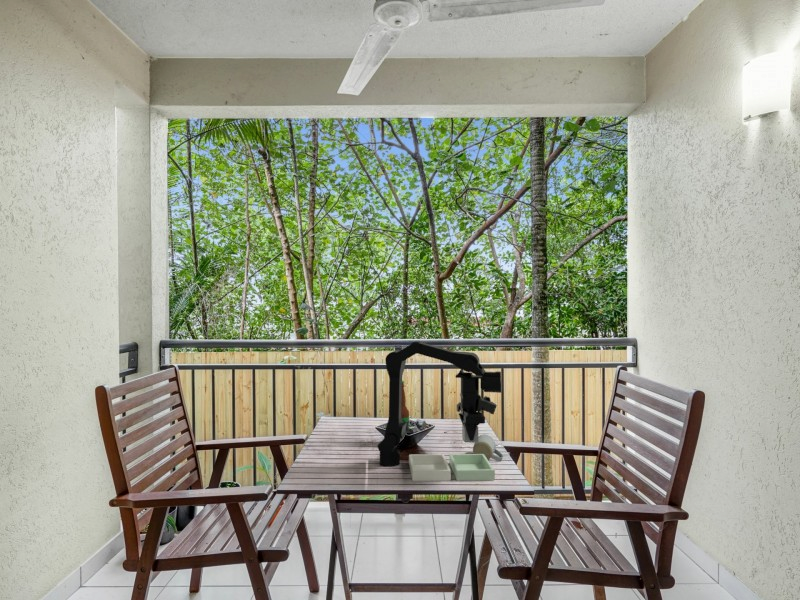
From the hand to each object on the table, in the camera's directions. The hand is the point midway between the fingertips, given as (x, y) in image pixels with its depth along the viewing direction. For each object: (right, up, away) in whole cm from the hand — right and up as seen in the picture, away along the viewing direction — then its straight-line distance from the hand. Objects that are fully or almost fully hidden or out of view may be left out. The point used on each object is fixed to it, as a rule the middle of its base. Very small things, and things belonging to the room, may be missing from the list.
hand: (470, 438), depth 170 cm
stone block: (0, -1, 0) cm, 1 cm away
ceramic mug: (+9, -12, +16) cm, 22 cm away
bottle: (-23, -11, +31) cm, 41 cm away
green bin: (0, -12, 0) cm, 12 cm away
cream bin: (-14, -12, 0) cm, 18 cm away
